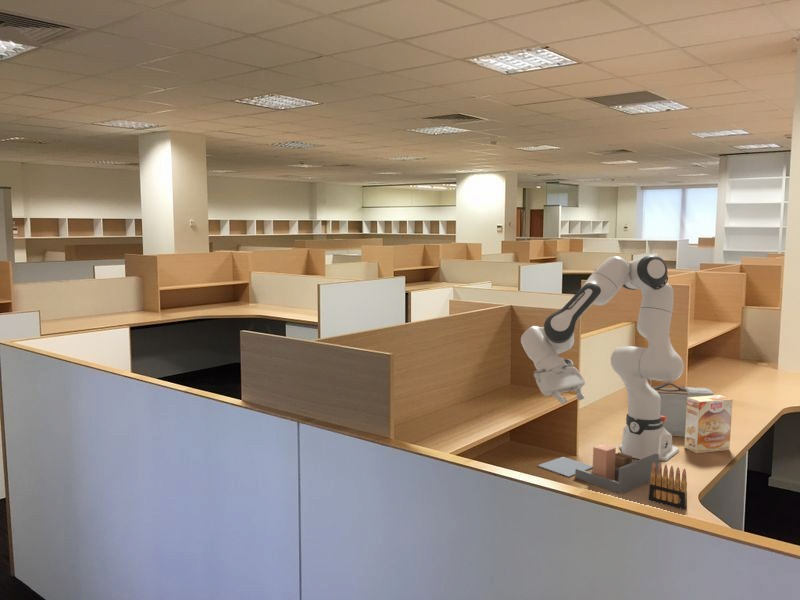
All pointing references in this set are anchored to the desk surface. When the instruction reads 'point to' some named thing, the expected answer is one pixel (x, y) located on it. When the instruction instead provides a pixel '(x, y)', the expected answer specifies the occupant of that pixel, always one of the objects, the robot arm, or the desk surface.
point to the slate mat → (565, 466)
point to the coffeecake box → (708, 423)
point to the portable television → (677, 405)
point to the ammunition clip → (668, 487)
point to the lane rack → (623, 475)
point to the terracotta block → (604, 461)
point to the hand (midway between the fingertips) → (573, 401)
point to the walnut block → (622, 460)
